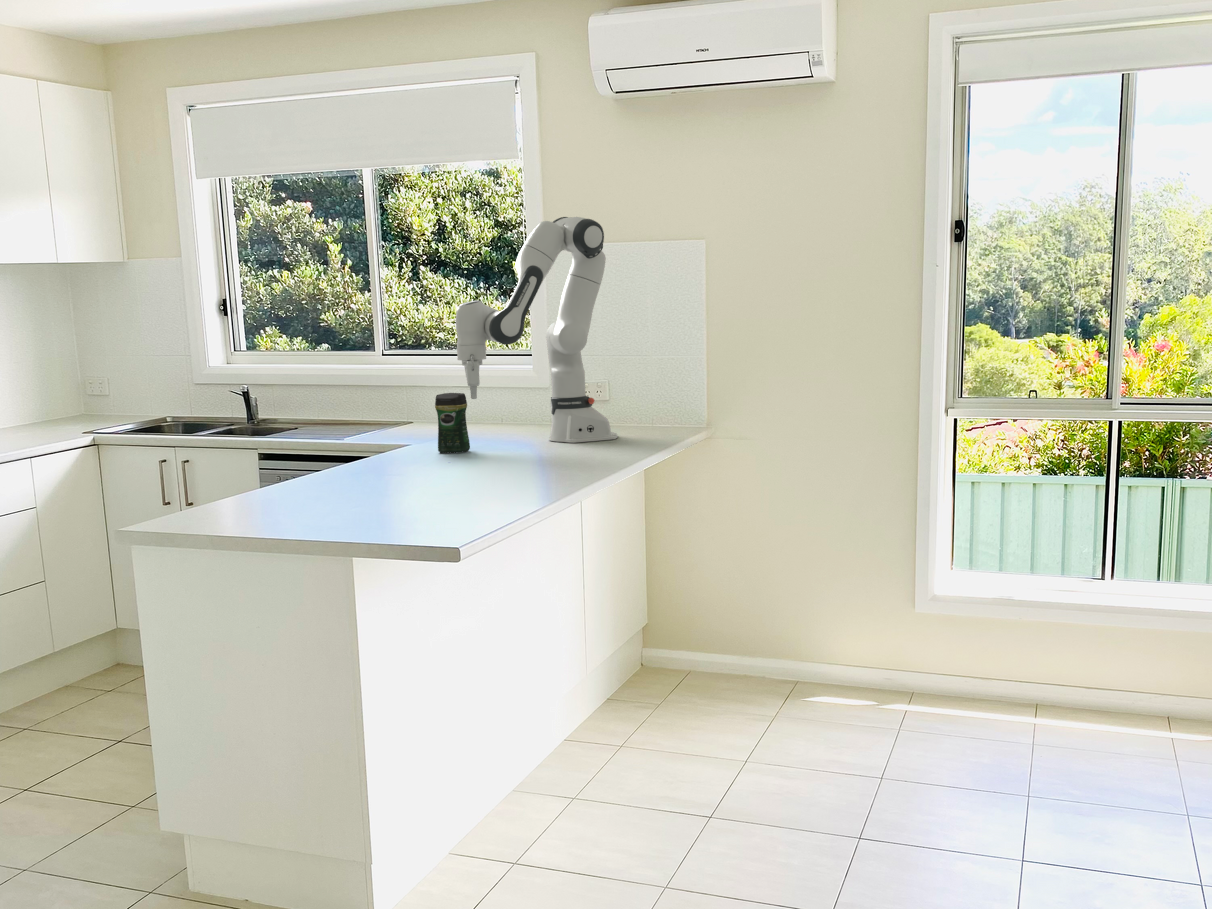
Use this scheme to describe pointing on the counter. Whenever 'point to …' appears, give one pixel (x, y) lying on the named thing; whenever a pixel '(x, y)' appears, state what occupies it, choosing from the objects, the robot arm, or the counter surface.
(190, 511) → the counter surface
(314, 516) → the counter surface
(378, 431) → the counter surface
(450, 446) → the coffee jar
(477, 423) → the counter surface
